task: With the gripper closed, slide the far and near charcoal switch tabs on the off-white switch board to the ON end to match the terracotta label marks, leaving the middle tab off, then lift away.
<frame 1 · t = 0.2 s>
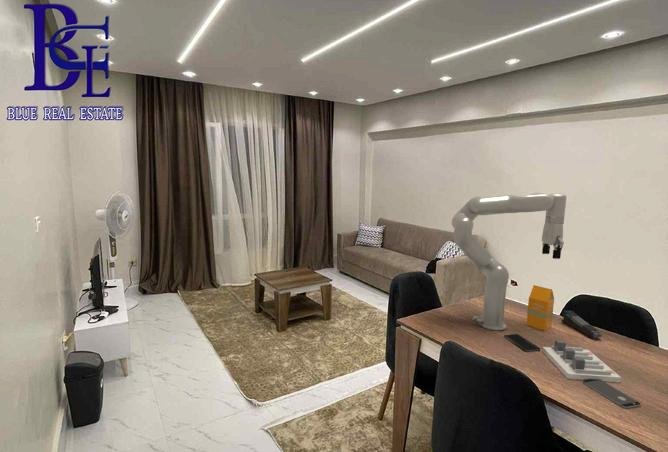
hand: (550, 256, 172), 36 cm above the table, tool pointing down, fingers open, 9 cm apart
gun: (579, 331, 176), on the table
switch board: (578, 365, 143), on the table
orange juice: (538, 326, 180), on the table
near tab: (578, 364, 136), point 4 cm above the table, slide at 0.0 cm
middle tab: (568, 354, 143), point 4 cm above the table, slide at 0.0 cm
phone: (521, 344, 162), on the table
phone 2: (609, 394, 126), on the table
far tab: (559, 346, 150), point 4 cm above the table, slide at 0.0 cm
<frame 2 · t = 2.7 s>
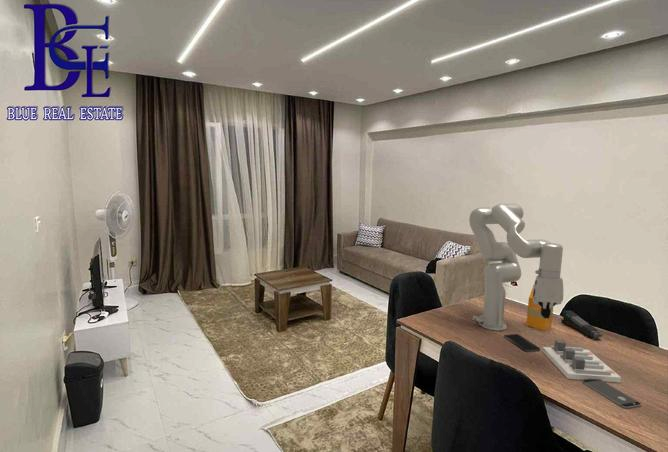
hand: (545, 317, 149), 17 cm above the table, tool pointing down, fingers closed
nothing on the table moved.
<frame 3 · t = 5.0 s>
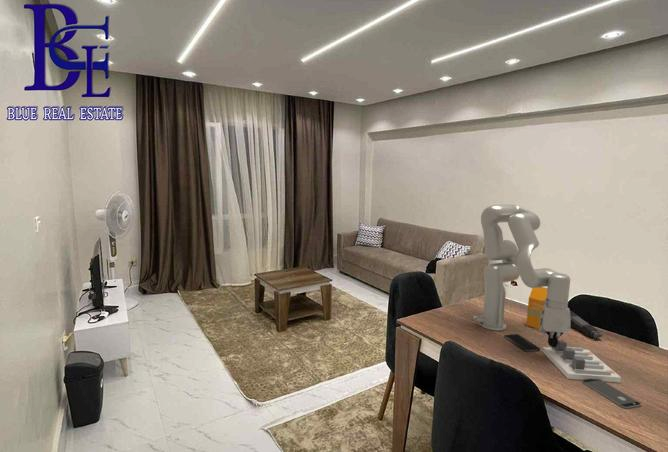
hand: (552, 345, 150), 4 cm above the table, tool pointing down, fingers closed
far tab: (560, 346, 150), point 4 cm above the table, slide at 0.4 cm, touching gripper
everything else where it was.
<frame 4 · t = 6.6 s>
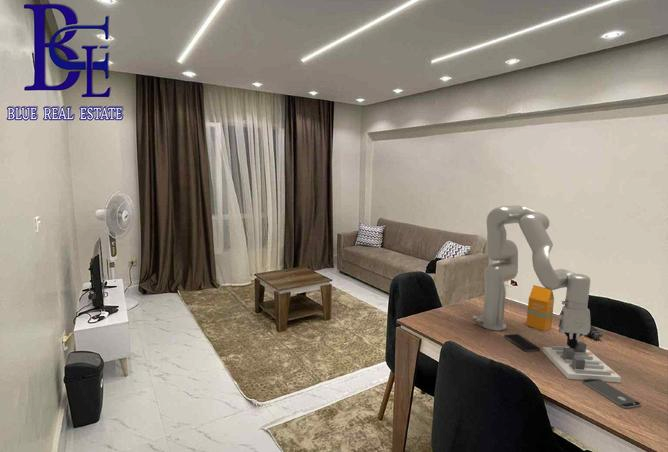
hand: (571, 347, 149), 4 cm above the table, tool pointing down, fingers closed
far tab: (580, 347, 149), point 4 cm above the table, slide at 7.9 cm, touching gripper
everything else where it was.
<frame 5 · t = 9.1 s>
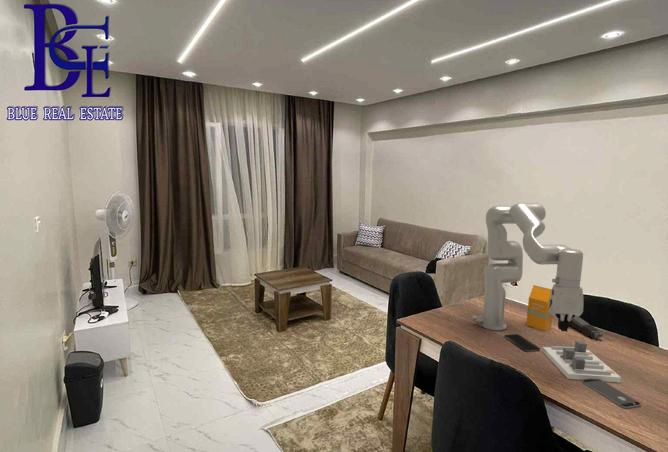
hand: (562, 330, 135), 17 cm above the table, tool pointing down, fingers closed
far tab: (580, 347, 149), point 4 cm above the table, slide at 8.0 cm
everything else where it was.
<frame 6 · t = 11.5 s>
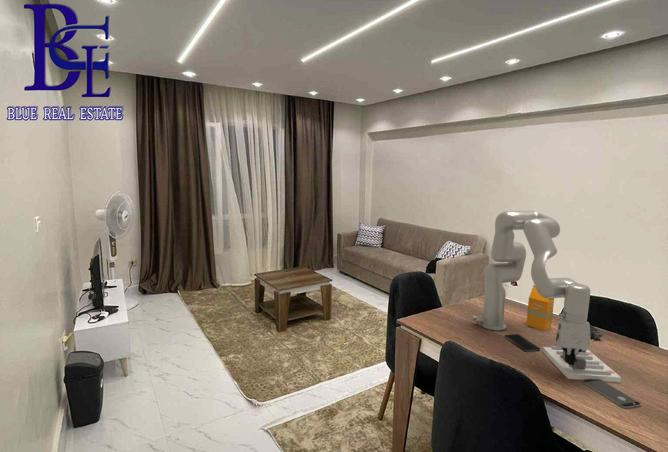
hand: (569, 363, 136), 4 cm above the table, tool pointing down, fingers closed
near tab: (579, 364, 136), point 4 cm above the table, slide at 0.3 cm, touching gripper
everything else where it was.
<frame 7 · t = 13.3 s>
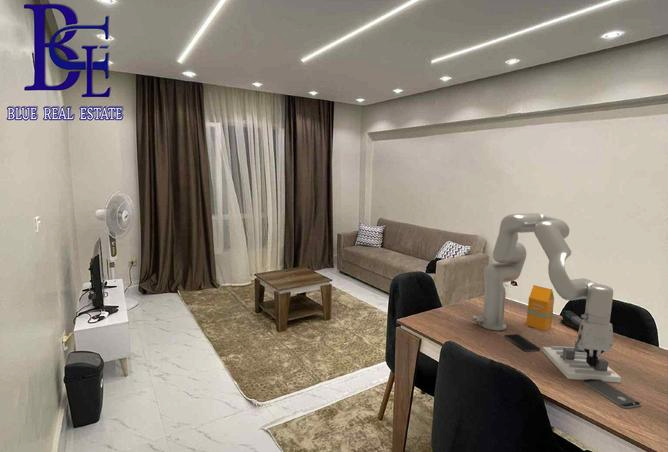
hand: (591, 364, 136), 4 cm above the table, tool pointing down, fingers closed
near tab: (601, 365, 135), point 4 cm above the table, slide at 7.9 cm, touching gripper
everything else where it was.
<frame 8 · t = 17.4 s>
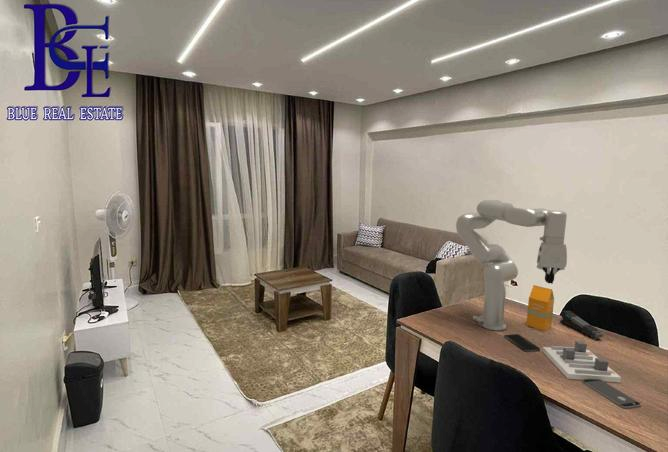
hand: (549, 282, 154), 29 cm above the table, tool pointing down, fingers closed
near tab: (601, 365, 135), point 4 cm above the table, slide at 8.0 cm
everything else where it was.
at the end: far tab slide at 8.0 cm; near tab slide at 8.0 cm; middle tab slide at 0.0 cm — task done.
